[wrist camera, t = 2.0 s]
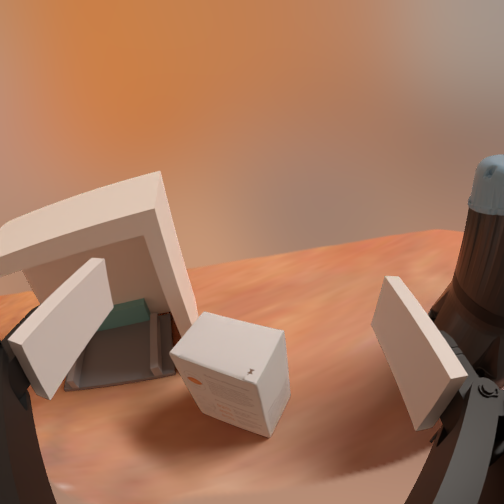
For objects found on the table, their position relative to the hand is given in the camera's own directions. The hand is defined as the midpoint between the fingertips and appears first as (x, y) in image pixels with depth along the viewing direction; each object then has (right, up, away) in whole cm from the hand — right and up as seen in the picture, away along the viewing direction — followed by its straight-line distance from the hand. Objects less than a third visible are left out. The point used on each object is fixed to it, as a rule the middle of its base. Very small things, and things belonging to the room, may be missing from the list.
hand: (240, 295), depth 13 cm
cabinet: (-18, -11, +23) cm, 31 cm away
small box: (0, -14, +15) cm, 21 cm away
